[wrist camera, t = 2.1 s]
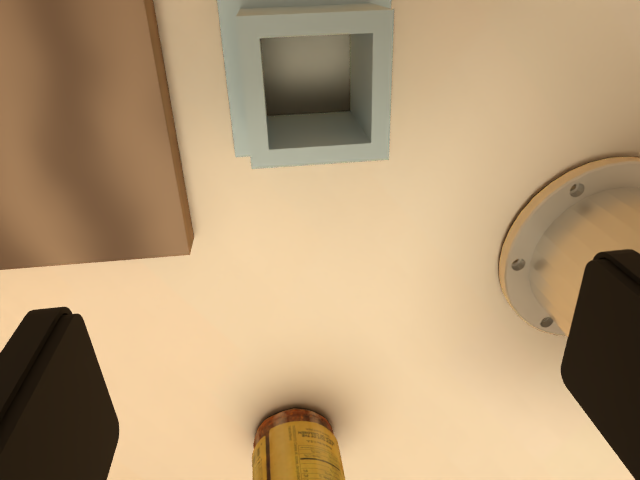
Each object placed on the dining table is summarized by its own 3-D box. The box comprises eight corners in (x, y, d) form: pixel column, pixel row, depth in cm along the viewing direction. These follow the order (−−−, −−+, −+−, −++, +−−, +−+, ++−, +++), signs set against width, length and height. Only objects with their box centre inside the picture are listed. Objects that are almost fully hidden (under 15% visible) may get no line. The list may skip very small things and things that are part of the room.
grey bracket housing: (382, 141, 27) (410, 179, 22) (236, 151, 27) (231, 192, 22) (390, -143, 21) (430, -179, 16) (202, -140, 21) (184, -176, 16)
